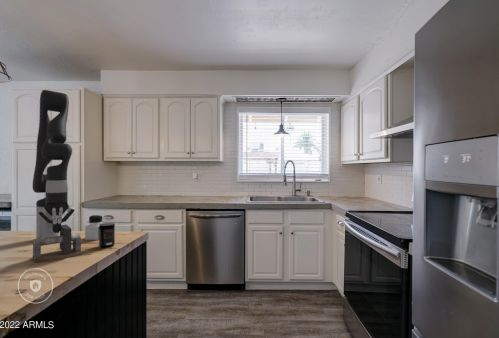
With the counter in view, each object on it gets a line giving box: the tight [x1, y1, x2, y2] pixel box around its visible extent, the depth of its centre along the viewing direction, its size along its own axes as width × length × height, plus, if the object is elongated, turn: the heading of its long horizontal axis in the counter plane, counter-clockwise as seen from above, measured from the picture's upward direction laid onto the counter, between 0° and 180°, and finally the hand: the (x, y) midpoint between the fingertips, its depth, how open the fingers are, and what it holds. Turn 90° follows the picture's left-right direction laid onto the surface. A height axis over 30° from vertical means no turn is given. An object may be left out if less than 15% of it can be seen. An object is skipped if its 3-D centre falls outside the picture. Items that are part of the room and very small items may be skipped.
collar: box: [59, 224, 72, 254], centre depth 121 cm, size 10×2×10 cm, turn 43°
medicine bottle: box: [84, 214, 103, 241], centre depth 148 cm, size 7×7×12 cm
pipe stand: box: [32, 232, 83, 264], centre depth 119 cm, size 8×16×9 cm, turn 133°
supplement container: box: [98, 222, 116, 249], centre depth 135 cm, size 7×7×10 cm
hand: (56, 232), depth 119 cm, fingers closed
